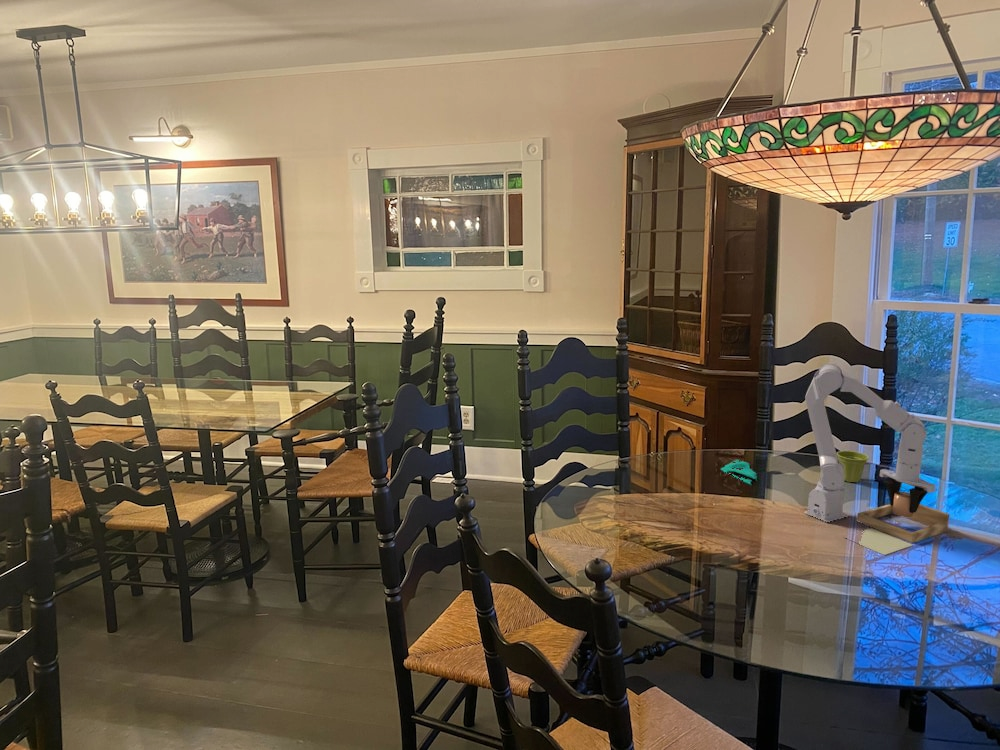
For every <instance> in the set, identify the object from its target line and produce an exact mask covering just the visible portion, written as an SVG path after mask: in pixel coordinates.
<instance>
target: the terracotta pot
mask: <svg viewBox="0 0 1000 750" xmlns="http://www.w3.org/2000/svg"><path fill="white" fill-rule="evenodd" d="M909 509H910V492H907V491H899V492H895V494H894V502H893V510H892V512H893V513H892V514H894V515H896V516H899V517H903V518H906V517H912V516H913V513H910V510H909Z"/></svg>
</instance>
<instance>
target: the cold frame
mask: <svg viewBox="0 0 1000 750" xmlns="http://www.w3.org/2000/svg"><path fill="white" fill-rule="evenodd" d="M892 510H893V506H891V505H890V503H889V504H885V505H881V506H879V507H875V508H872V509H871V508H870V509H867V510H865V511H861V512H858V513H857V516H856V521H857V520H858V521H860V522H862V523H864V524H866V525H865V526H867V525H868V526H867V527H869V526H870V527H869V528H872V527H873V528H872V529H874V528H875V530H877V531H880V532H882V533H885V534H887V535H890V536H892V537H895V538H897V539H900V540H902V541H905V542H907V543H910V544H914V543H916V542H920V541H923V540H925V539H928V537H929V538H931V537H934V535H935V536H937V534H938V535H940V534H943V533H945V532H946V533H947V532H948V529H949V521H950V516H951V515H950V513H947V512H944V511H941V510H938V509H936V508H932V507H929V506H927V505H924V504H921V503H920V504H919V506H918V509H917V511H916V512H914V513H913V516H912V517H905V518H906V519H908V520H912V521H914V522H917V523H920V524H923V525H925V526H926V527H923V528H922V529H918V530H914V531H909V530H907V529H903V528H902V527H899V526H897V525H893V524H890V523H888V522H886V521H882V520H881V519H878V518H881V517H885V516H886V515H890V514H894V513H893V512H892ZM877 517H878V518H877ZM862 523H861V524H862ZM864 524H863V525H864Z"/></svg>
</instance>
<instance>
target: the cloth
mask: <svg viewBox="0 0 1000 750" xmlns="http://www.w3.org/2000/svg"><path fill="white" fill-rule="evenodd" d="M739 460H740V459H739ZM739 460H738V459H736V460H734V461H732V462H729V463H728V464H726V465H724V467H721V468H720V470H721V471H722V472H723V473H725V472H726V474H727V472H732V473H733V472H734V473H735V474H736V473H738V474H739V476H742V477H741V478H739V477H738V476H736V475H734V474H732V475H733V476H734V477H733V476H732V477H733V478H735V477H736V479H738V478H739V479H740V480H739V479H738V480H739V481H742V480H743V481H742V482H744V483H746V484H749V485H751V486H752V480H755V481H756V482H758V480H757V479H758V476H757V473H756V472H755V471H754V470H753V469H752V468H750V463H749V462H746V461H740V462H739ZM733 462H736V463H733ZM734 467H735V468H734ZM732 468H734V469H732ZM736 468H743V469H741V470H739V469H736ZM729 474H731V473H729ZM729 474H728V475H729ZM743 477H744V478H743ZM745 478H747V479H745Z"/></svg>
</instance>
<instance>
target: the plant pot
mask: <svg viewBox="0 0 1000 750" xmlns="http://www.w3.org/2000/svg"><path fill="white" fill-rule="evenodd" d="M836 453H837V456H838V459H839V461H840V462H841V464H842V465H843V466H844V482H845V481H846V482H847V483H850V482H857V483H859V481H860V482H861V479H862V475H863V472H864V469H865V465H866V463H867V462H868V460H869V456H868V455H867V454H865V453H862V452H860V451H854V450H852V451H850V450H840V451H836Z"/></svg>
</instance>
